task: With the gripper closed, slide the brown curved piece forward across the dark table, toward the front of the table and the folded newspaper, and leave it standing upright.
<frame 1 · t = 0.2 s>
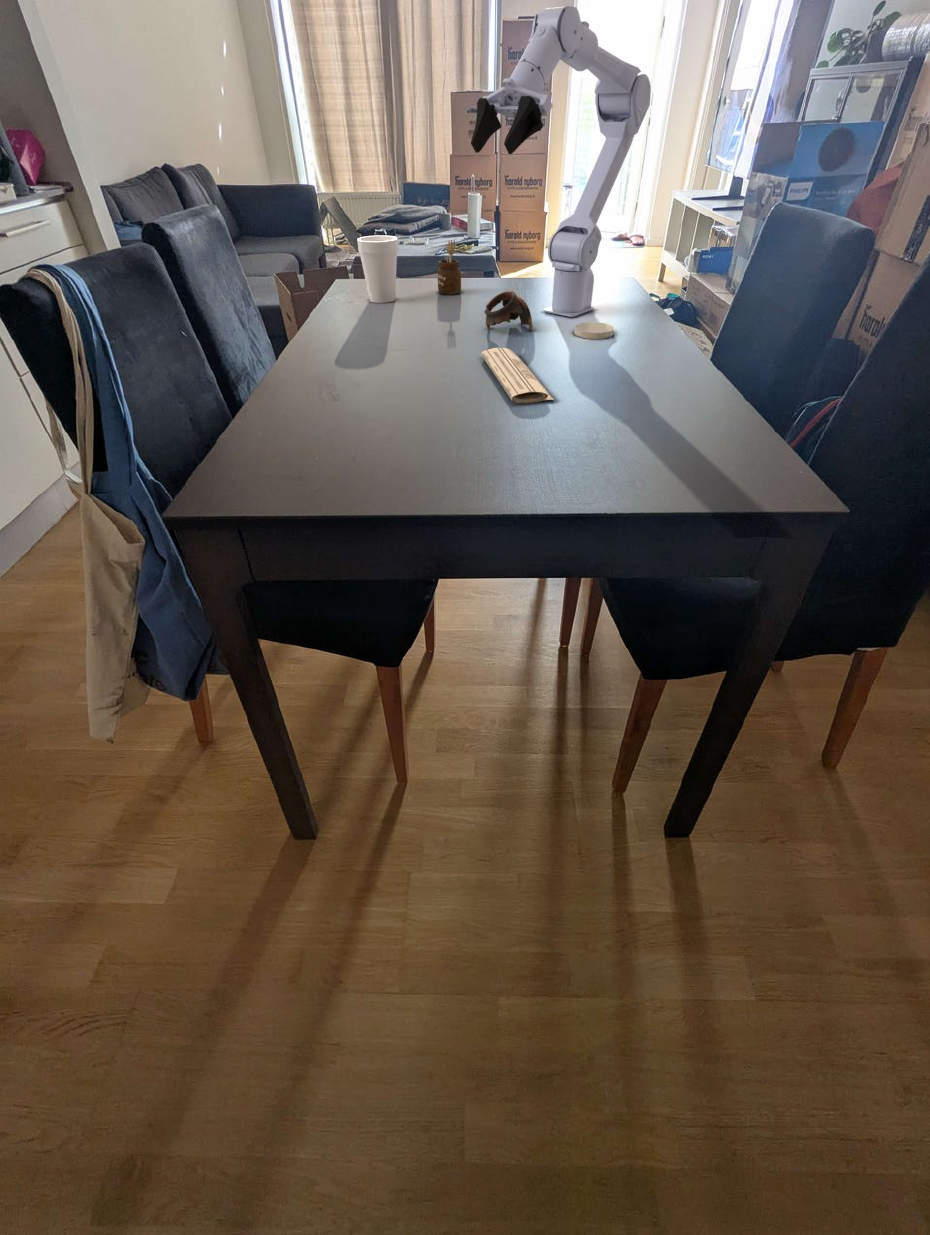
hand: (490, 148, 106), 31 cm above the table, tool tilted 45°, fingers open, 7 cm apart
foam cup: (382, 300, 152), on the table
newspaper: (514, 379, 108), on the table
utensil holder: (449, 293, 157), on the table
tan round disc: (593, 333, 128), on the table
brown curved piece: (509, 329, 131), on the table
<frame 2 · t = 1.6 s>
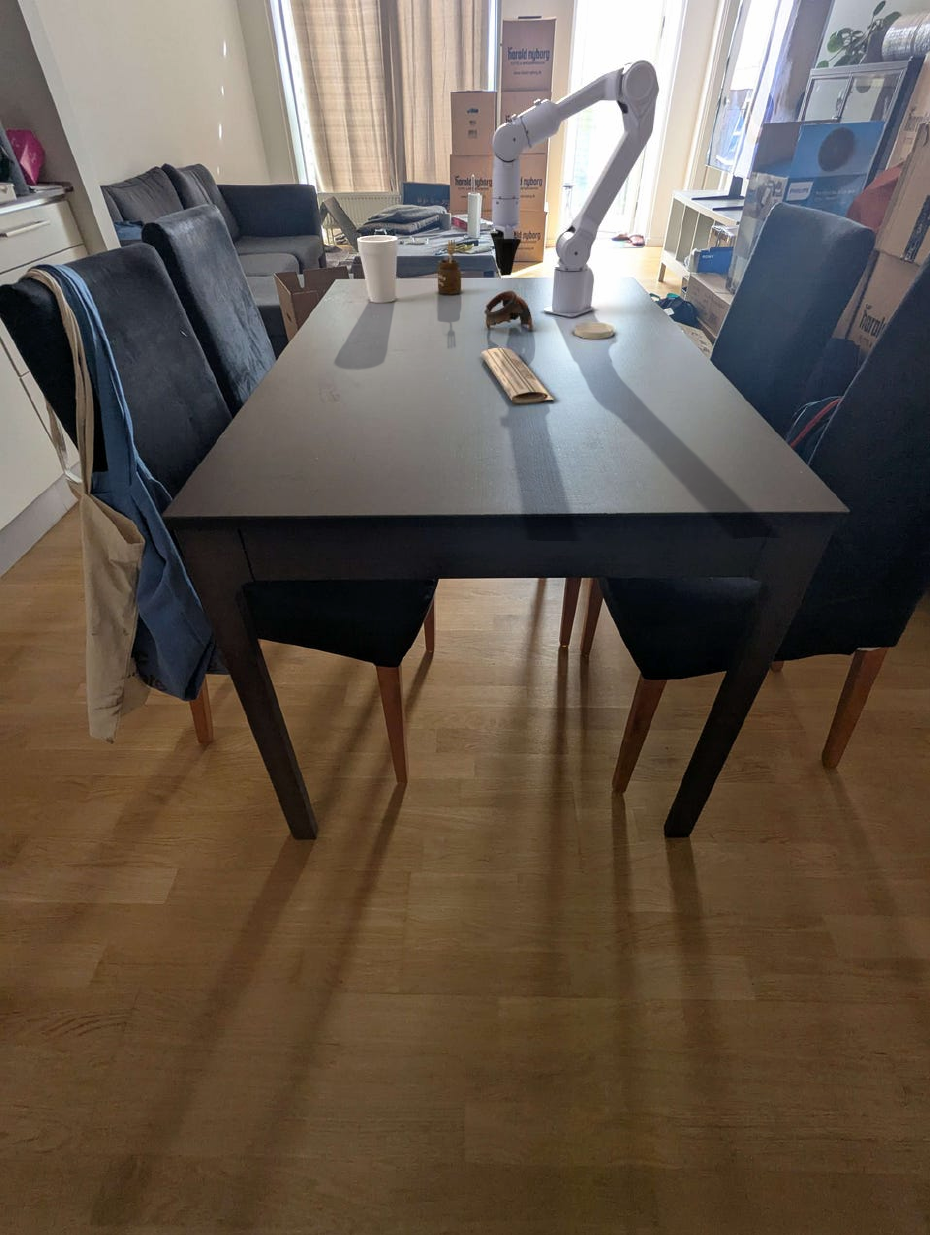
hand: (504, 271, 136), 8 cm above the table, tool pointing down, fingers open, 6 cm apart
nothing on the table moved.
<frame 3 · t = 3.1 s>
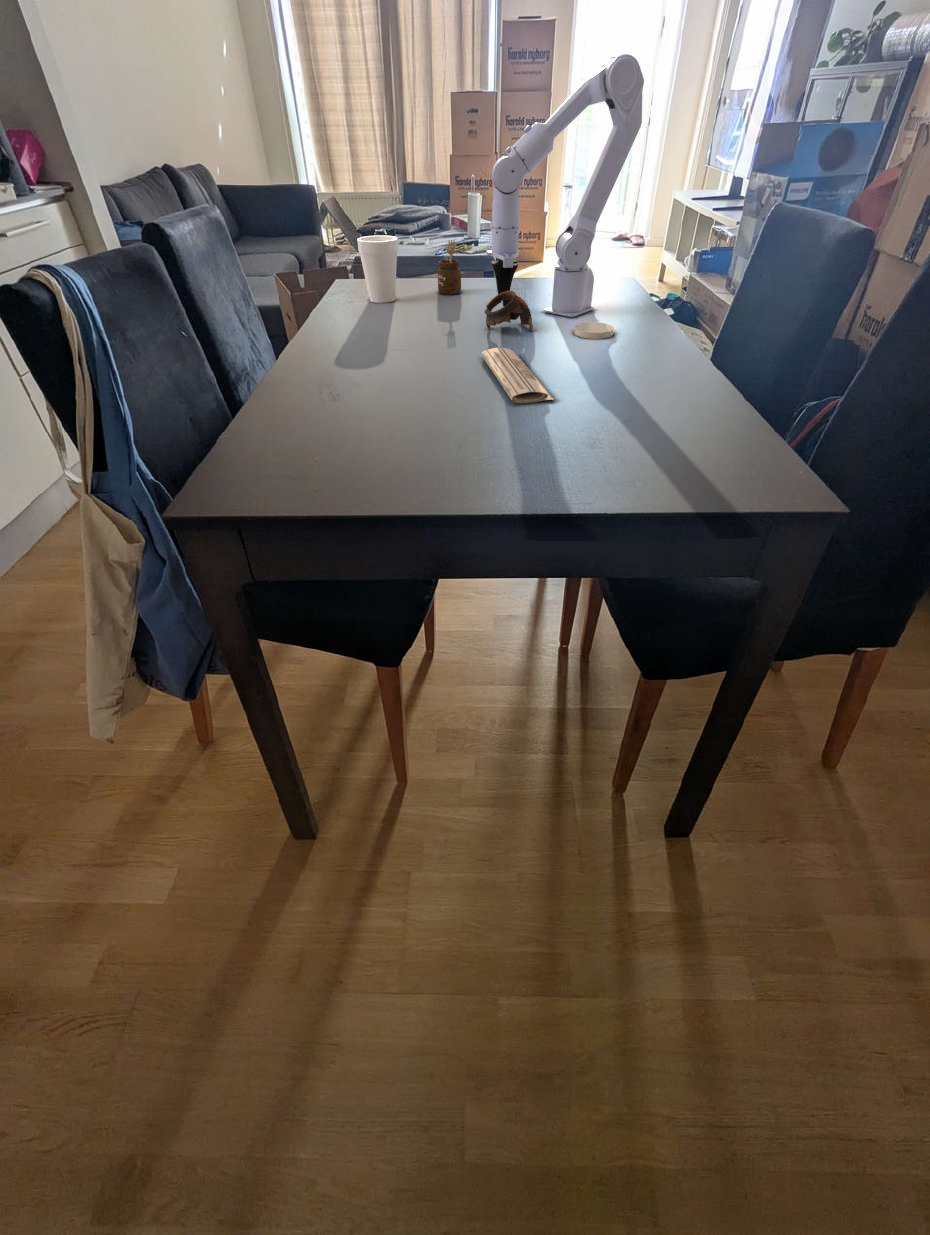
hand: (503, 297, 139), 3 cm above the table, tool pointing down, fingers closed
nothing on the table moved.
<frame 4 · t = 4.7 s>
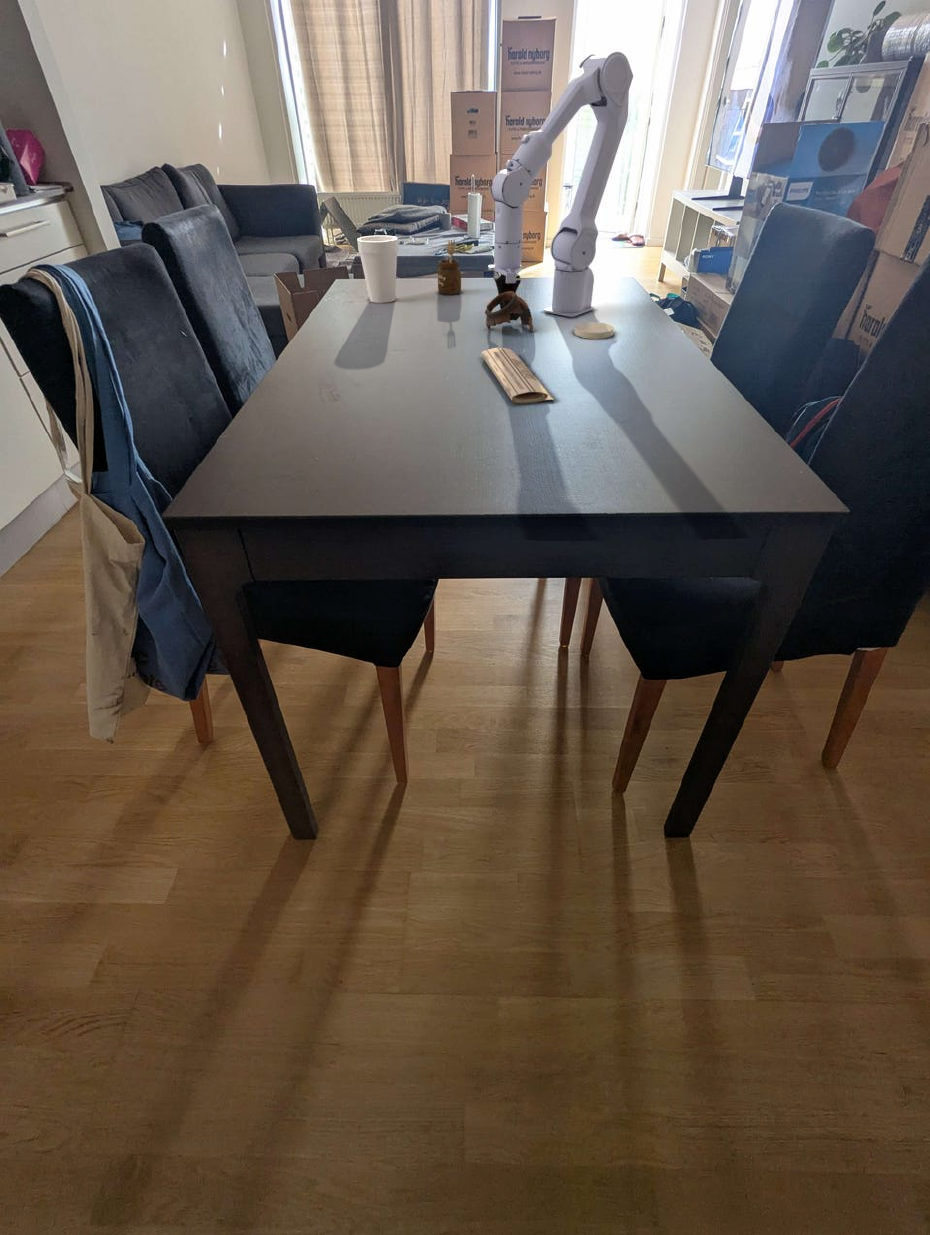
hand: (505, 312, 136), 1 cm above the table, tool pointing down, fingers closed
brown curved piece: (510, 329, 131), on the table, touching gripper
everything else where it was.
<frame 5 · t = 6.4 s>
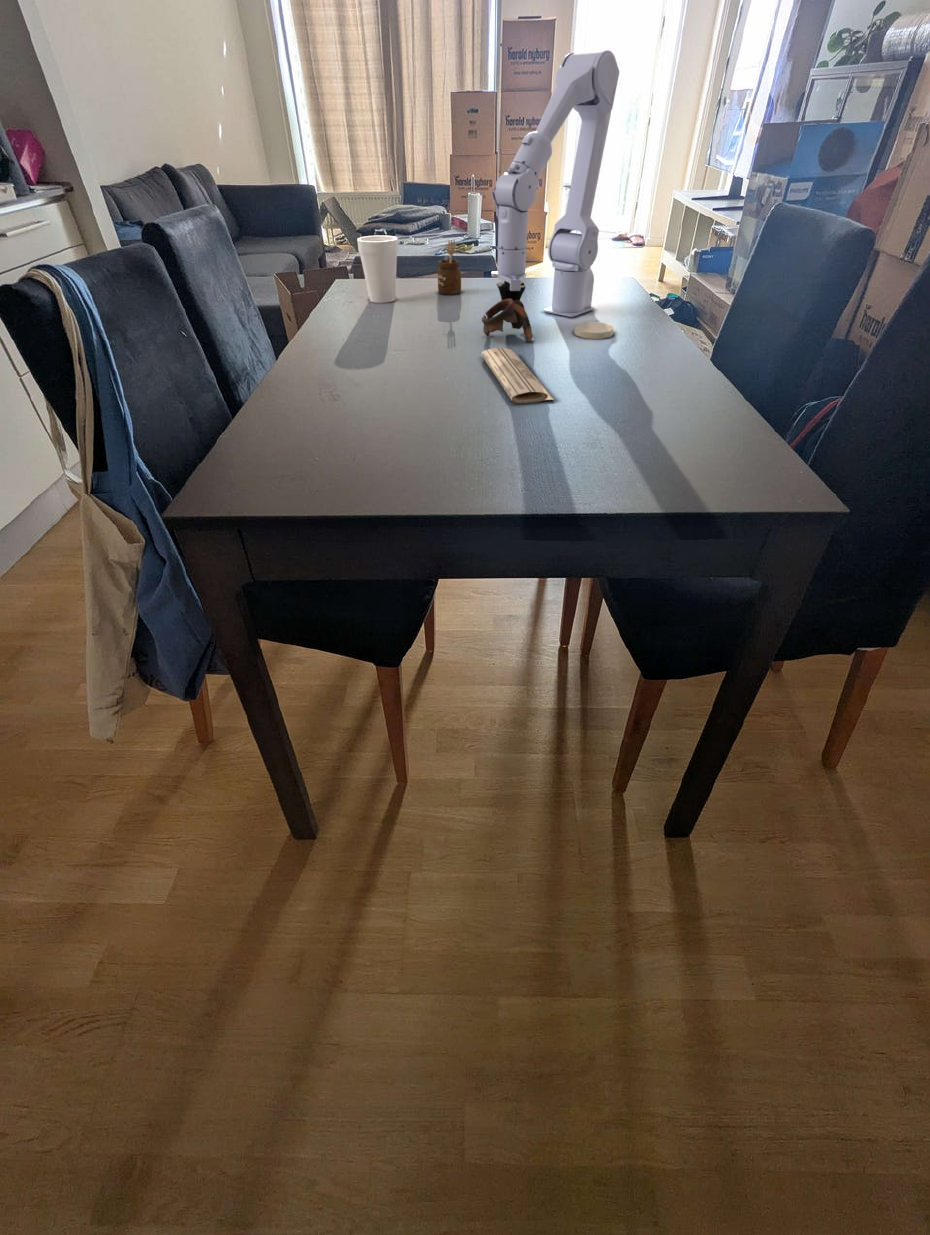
hand: (509, 320, 131), 1 cm above the table, tool pointing down, fingers closed
brown curved piece: (509, 338, 126), on the table, touching gripper
everything else where it was.
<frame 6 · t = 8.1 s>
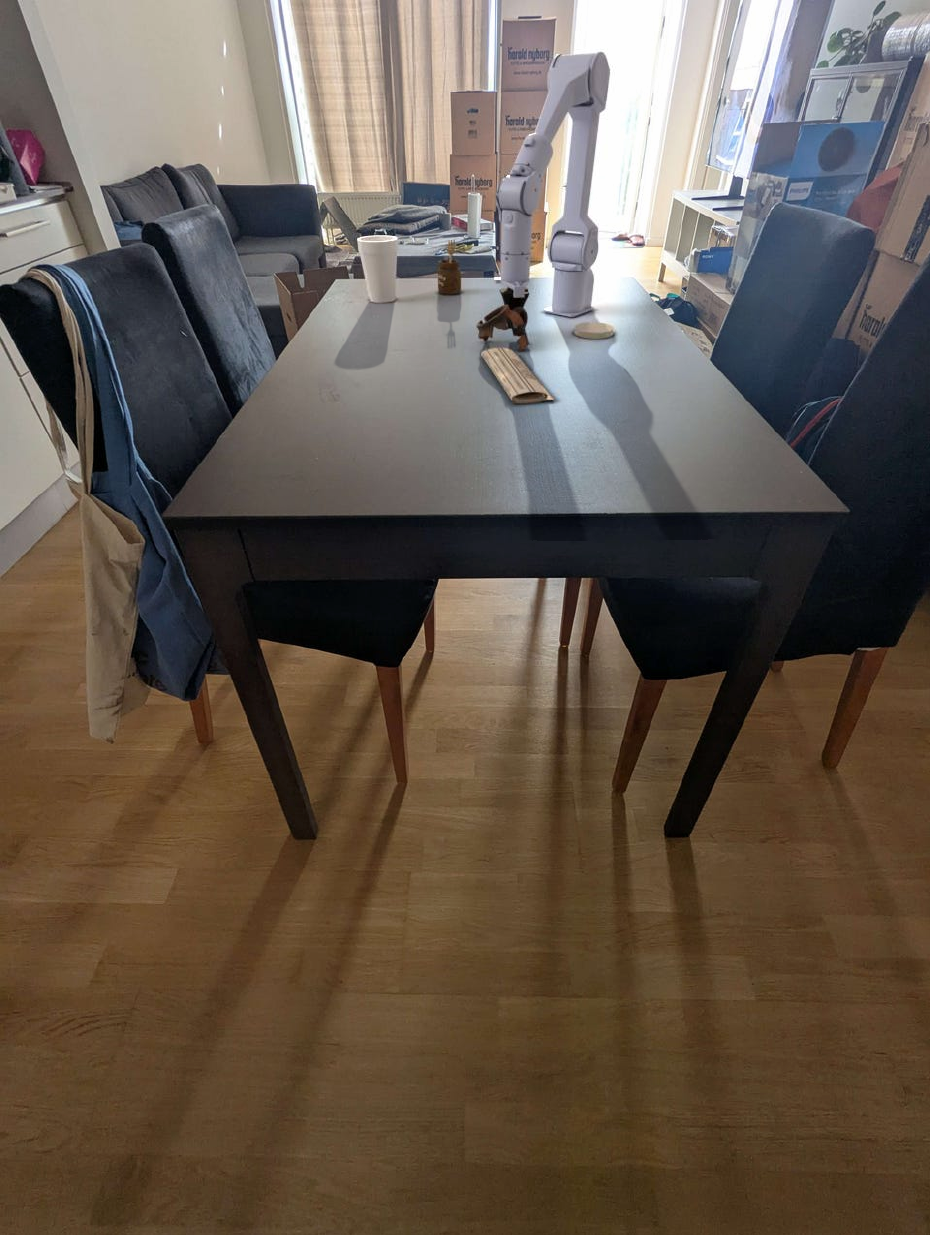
hand: (512, 328, 126), 1 cm above the table, tool pointing down, fingers closed
brown curved piece: (506, 345, 123), on the table, touching gripper
everything else where it was.
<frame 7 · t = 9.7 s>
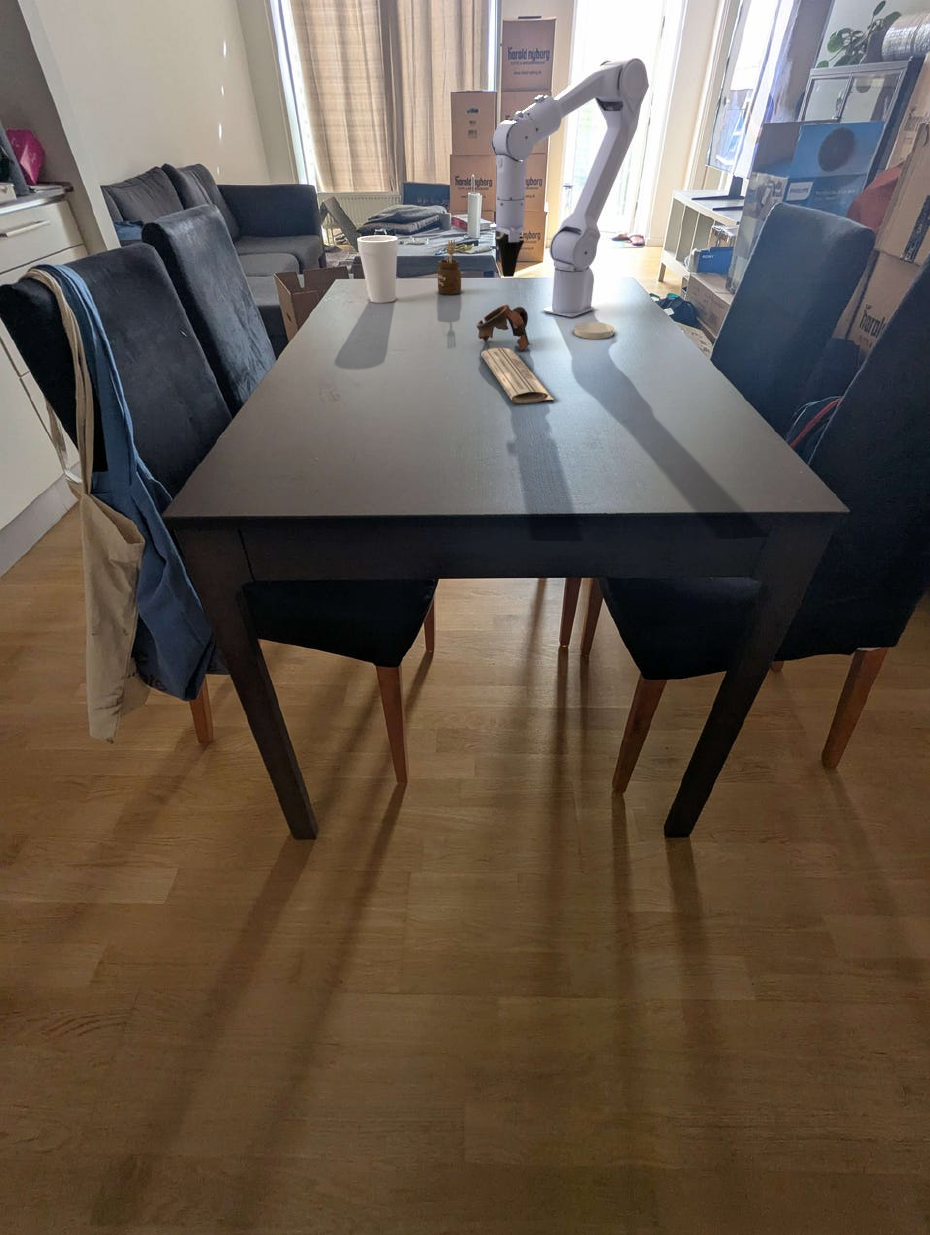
hand: (508, 276, 130), 9 cm above the table, tool pointing down, fingers closed
brown curved piece: (506, 345, 123), on the table
everything else where it was.
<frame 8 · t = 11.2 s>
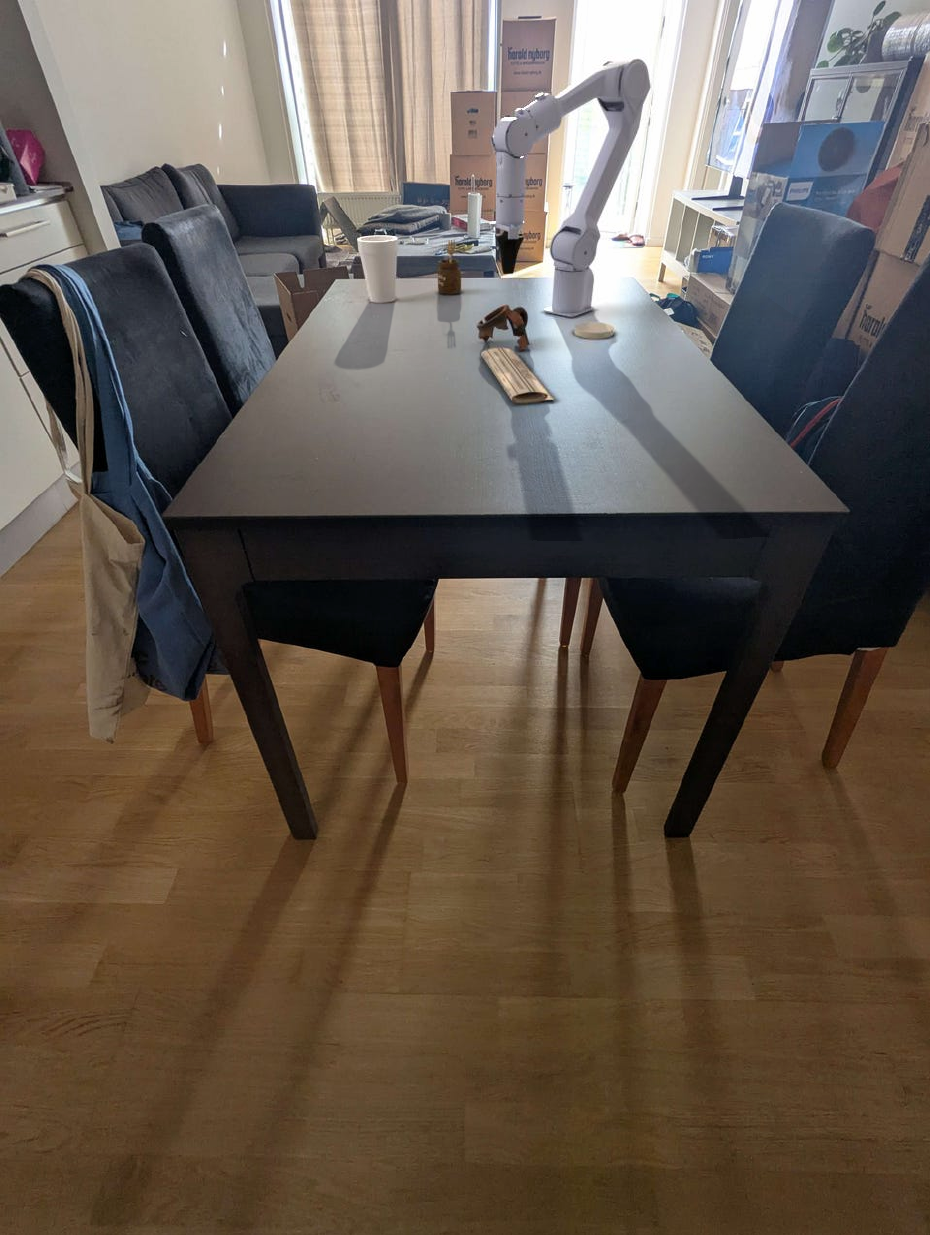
hand: (507, 273, 130), 9 cm above the table, tool pointing down, fingers closed
nothing on the table moved.
at the end: brown curved piece moved 11.8 cm from its start; brown curved piece 19.5 cm from the newspaper (horizontally); brown curved piece tilted 0° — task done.
